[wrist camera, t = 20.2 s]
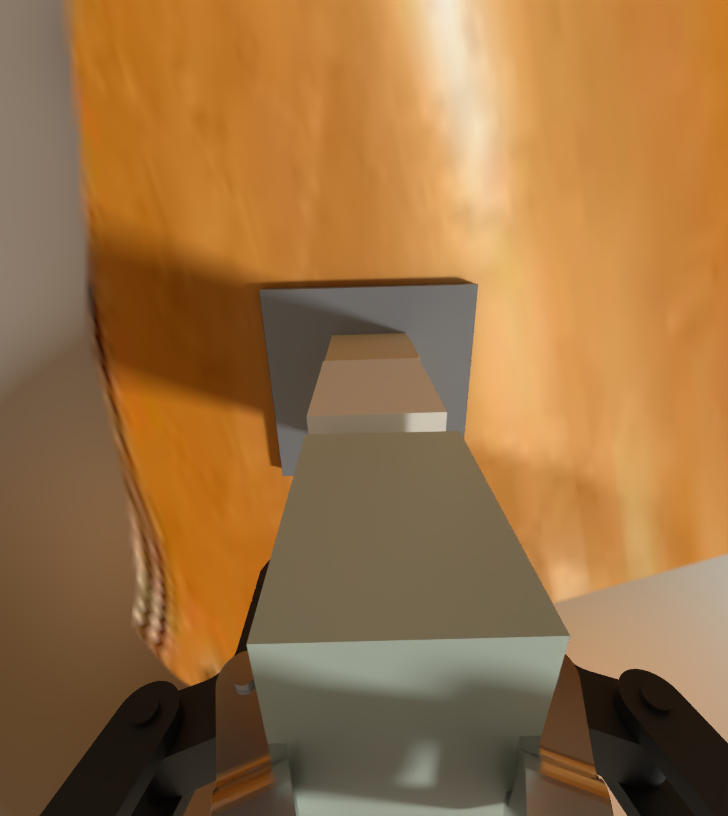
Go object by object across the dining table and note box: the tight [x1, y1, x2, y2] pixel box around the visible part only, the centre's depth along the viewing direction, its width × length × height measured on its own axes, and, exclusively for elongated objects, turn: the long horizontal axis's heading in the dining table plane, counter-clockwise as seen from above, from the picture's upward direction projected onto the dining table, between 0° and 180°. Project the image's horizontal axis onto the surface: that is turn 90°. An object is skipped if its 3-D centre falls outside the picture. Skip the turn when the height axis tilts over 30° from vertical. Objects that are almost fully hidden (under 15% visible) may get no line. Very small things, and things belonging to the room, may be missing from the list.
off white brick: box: [307, 358, 447, 435], centre depth 18 cm, size 8×5×7 cm, turn 1°
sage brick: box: [246, 431, 570, 816], centre depth 11 cm, size 8×5×7 cm, turn 1°
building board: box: [259, 283, 478, 476], centre depth 25 cm, size 14×14×7 cm
